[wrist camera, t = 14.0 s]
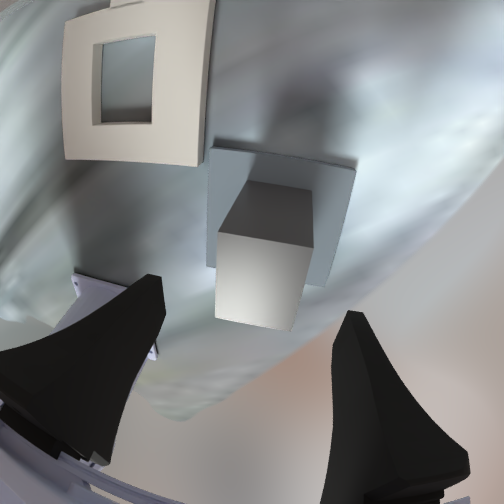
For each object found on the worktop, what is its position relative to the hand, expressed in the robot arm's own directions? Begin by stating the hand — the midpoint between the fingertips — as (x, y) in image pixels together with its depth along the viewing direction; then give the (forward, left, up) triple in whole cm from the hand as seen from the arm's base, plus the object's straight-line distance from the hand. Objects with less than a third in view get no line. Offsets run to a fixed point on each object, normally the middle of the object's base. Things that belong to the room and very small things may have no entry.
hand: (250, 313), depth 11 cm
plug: (0, 0, -7) cm, 7 cm away
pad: (0, 0, -8) cm, 8 cm away
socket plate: (+9, +9, -8) cm, 15 cm away
